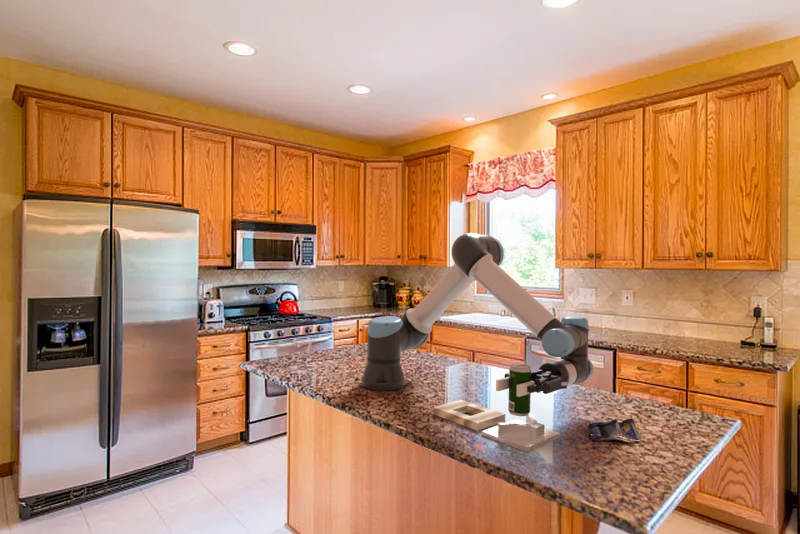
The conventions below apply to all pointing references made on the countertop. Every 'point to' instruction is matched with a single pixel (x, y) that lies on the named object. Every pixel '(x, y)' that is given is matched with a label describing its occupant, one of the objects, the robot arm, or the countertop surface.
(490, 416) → the beige rectangular frame
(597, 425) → the snack package
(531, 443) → the v block
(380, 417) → the countertop surface
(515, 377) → the green soda can
